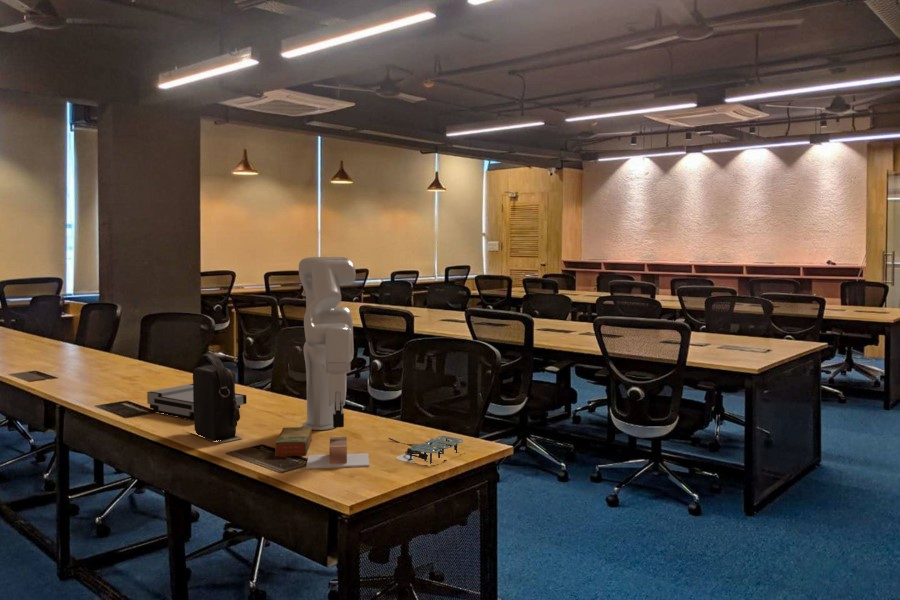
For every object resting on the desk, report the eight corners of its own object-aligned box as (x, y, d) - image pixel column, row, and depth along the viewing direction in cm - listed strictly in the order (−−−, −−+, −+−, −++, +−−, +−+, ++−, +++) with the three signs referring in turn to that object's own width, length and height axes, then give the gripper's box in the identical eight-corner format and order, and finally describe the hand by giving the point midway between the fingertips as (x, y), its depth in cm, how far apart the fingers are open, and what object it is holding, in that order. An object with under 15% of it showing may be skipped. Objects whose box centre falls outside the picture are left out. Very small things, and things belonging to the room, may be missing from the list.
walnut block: (330, 437, 219) (329, 446, 208) (346, 436, 220) (346, 446, 209) (330, 453, 220) (329, 463, 209) (346, 452, 220) (346, 463, 209)
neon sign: (399, 425, 241) (472, 439, 224) (399, 438, 241) (472, 452, 224) (356, 439, 224) (432, 454, 207) (356, 452, 224) (432, 469, 207)
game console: (202, 423, 260) (201, 401, 260) (147, 413, 277) (147, 392, 277) (246, 413, 278) (246, 392, 277) (192, 403, 295) (192, 383, 294)
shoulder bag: (185, 432, 247) (183, 351, 245) (210, 427, 254) (208, 348, 252) (217, 444, 232) (215, 358, 230) (243, 439, 238) (241, 355, 236)
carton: (312, 441, 237) (312, 426, 237) (306, 456, 219) (306, 441, 219) (282, 441, 236) (282, 426, 236) (274, 457, 218) (274, 441, 218)
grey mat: (308, 456, 217) (308, 455, 217) (368, 454, 220) (368, 453, 220) (306, 468, 206) (306, 467, 206) (369, 466, 208) (369, 464, 208)
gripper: (326, 363, 225) (326, 421, 226) (324, 371, 210) (325, 433, 211) (350, 363, 226) (351, 420, 227) (350, 370, 211) (350, 432, 212)
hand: (338, 426), depth 219 cm, fingers closed
